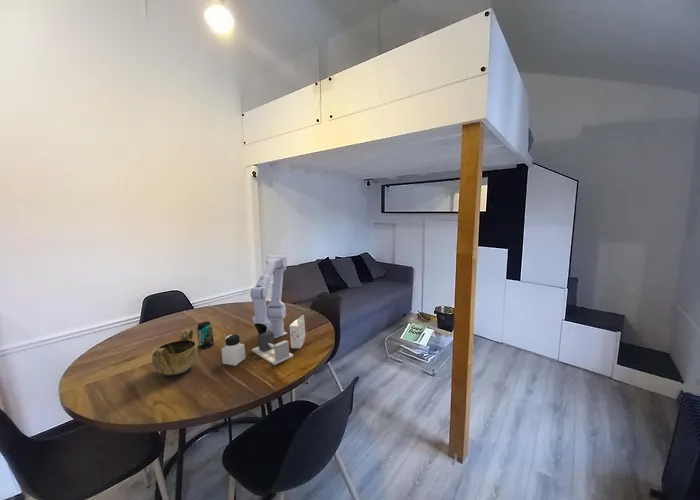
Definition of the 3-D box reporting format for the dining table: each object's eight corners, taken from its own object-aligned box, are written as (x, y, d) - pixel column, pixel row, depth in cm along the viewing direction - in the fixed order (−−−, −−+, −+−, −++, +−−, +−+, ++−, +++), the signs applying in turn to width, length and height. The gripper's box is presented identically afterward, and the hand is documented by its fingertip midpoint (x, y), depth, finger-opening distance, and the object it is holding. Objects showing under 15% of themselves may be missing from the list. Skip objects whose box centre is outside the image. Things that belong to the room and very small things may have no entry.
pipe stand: (252, 351, 140) (250, 335, 139) (270, 343, 147) (269, 329, 146) (274, 365, 126) (273, 347, 125) (293, 356, 133) (292, 340, 132)
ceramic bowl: (181, 386, 113) (177, 350, 111) (139, 387, 113) (134, 351, 111) (209, 357, 135) (206, 327, 133) (174, 358, 135) (170, 328, 133)
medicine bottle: (246, 358, 133) (243, 333, 131) (235, 366, 126) (232, 340, 125) (233, 356, 135) (231, 332, 134) (222, 363, 129) (219, 338, 127)
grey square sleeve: (259, 348, 138) (258, 334, 137) (270, 344, 143) (269, 330, 142) (263, 351, 136) (262, 336, 135) (274, 346, 140) (273, 332, 139)
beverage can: (216, 345, 147) (214, 323, 146) (201, 350, 142) (199, 327, 141) (210, 341, 152) (208, 320, 151) (196, 346, 147) (194, 324, 146)
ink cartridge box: (297, 340, 150) (295, 313, 148) (306, 341, 149) (304, 313, 147) (290, 348, 141) (288, 319, 139) (299, 348, 140) (298, 320, 138)
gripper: (245, 309, 141) (247, 336, 143) (260, 316, 131) (262, 344, 133) (258, 306, 146) (260, 331, 148) (273, 312, 136) (275, 339, 138)
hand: (262, 337), depth 141 cm, fingers closed
